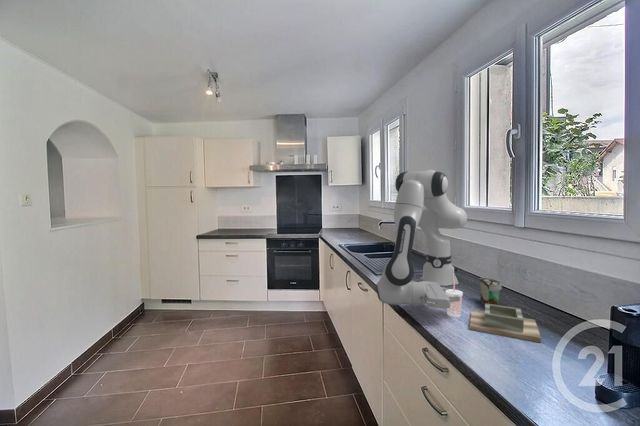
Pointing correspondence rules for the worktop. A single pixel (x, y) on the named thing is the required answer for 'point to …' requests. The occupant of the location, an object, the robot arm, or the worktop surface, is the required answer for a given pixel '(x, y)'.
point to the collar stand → (504, 323)
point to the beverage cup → (454, 306)
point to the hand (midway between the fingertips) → (456, 295)
